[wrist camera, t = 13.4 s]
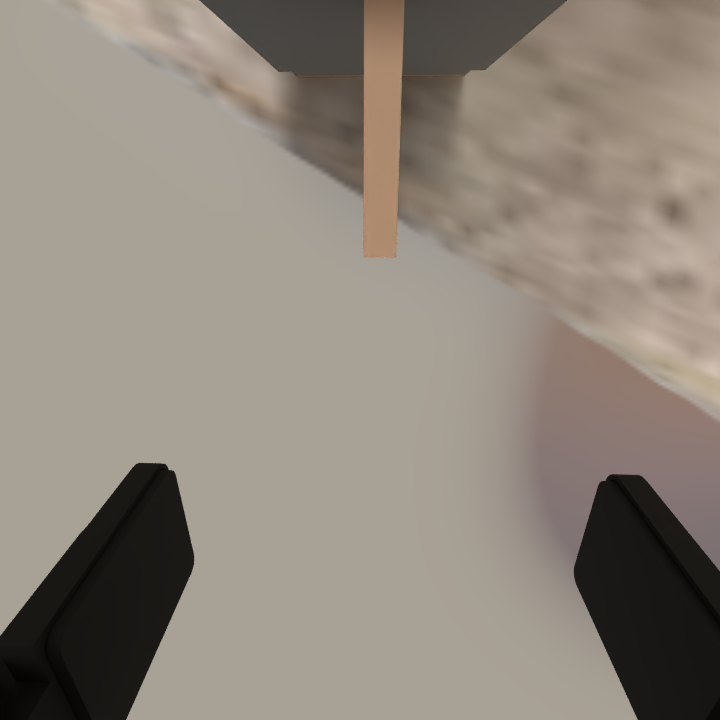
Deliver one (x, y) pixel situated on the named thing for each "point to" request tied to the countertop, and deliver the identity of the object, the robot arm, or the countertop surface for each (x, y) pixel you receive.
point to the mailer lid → (381, 63)
